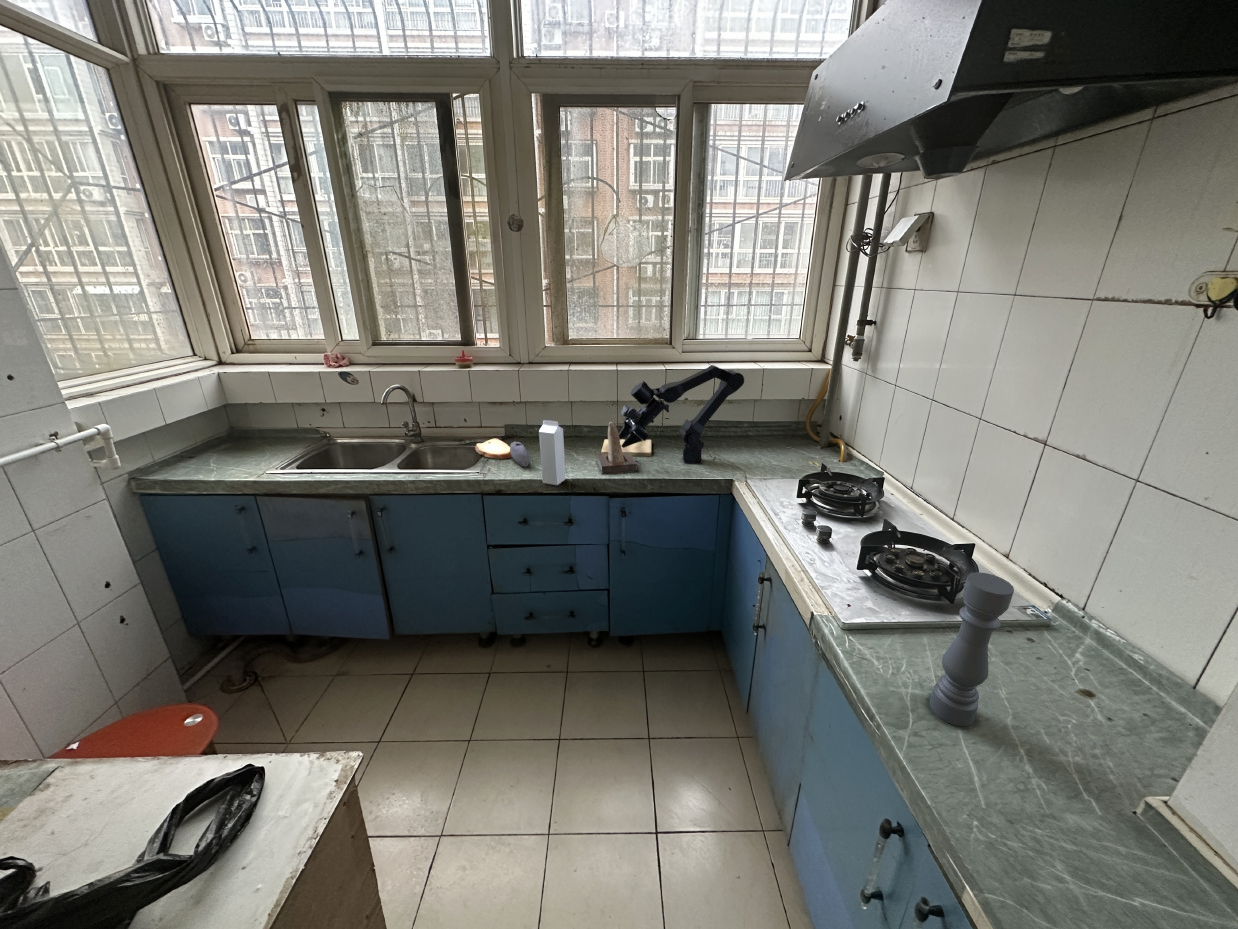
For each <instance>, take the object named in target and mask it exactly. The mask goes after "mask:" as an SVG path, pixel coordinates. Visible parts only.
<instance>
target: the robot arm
mask: <svg viewBox="0 0 1238 929" xmlns="http://www.w3.org/2000/svg"><path fill="white" fill-rule="evenodd" d="M713 379H718V380H719V384H718V388H717V389H716V390H715V392H714V393H713V394H712V396H711V397H710V398H709V399H708V401H707V402H706V403H705V404H704V405H703V407H702V408H701V409H700V410H699V412H698V413H697V415H696V416H695V417H694V418H693V419H691V420H689V419H685V421H684V422H683V424H682V425H680V426H679V428H680V429H679V431H678V435H679V438H680V439H681V440H682V441H683V443H684V447H683V448H682V461H684V462H683V463H684V464H700V465H701V464H703V461H702V451H703V450H702V449H704V446H705V442H703V441H702V440H701V439H700V437H701V436H702V434H703V430H704V428H705V426H706V424H707V423H708V422H709V420H710V419H711V418H712V417H713V416H714V415H715V413H716V412H717V411H718V410H719V408H720V407H721V406H722V405H723V403H724V402H725V401H726V400H727V398H728V397H729V396H731V395H733V394H734V393H736V392H737V391H738V390H739V389H740V388H742V387H743V385H744V384H745V376H744V375H743V374H742V373H741V372H739V371H736V370H734V369H728V370H726V369H723V368H721V367H719V366H716V365H714V364H712V365H709V366H708V367H706V368H704V369H702V370H700V371H698V372H696V373H693V374H692V375H690V376H687V377H685V378H683V379H682V380H678V381H673V382H668V383H665V384H662V385H661V386H660V387H655V388H651V387H650V386H649V384H648V383H647V382H646V381H644V380H642V381H641V382H639V383H637V384H636V385H634V386H633V388H632V389H631V390H630V395H631V396H632V397H633V398H634V399H635V401H637V402H638V403H639V404H640V405H645V406H644V407H643V408H642V407H641V408H640V407H639V408H638V409H636V408H633V407H632V406H628V405H627V404H624V405H623V406H622V409H621V411H620V414H621V415H622V416H623V426H622V428H621V430H620V432H618V433H619V440H623V439H624V438H626V439H624V440H625V441H624V442H623V444H622V445H621V446H622V447H623V448H624V447H627V446H630V445H632V444H635V443H638V442H642V441H643V440H644V441H646V440H649V433H648V432H647V427H648V426H649V425H650V424H653V423H655V419H656V418H657V417H658V416H659V415H660V414H661V413H662V412H663V410H665V412H666V413H670V404H672V403H674V402H676V401H677V400H679V399H680V398H681V397H682V396H683V395H685V393H687V392H688V391H690V390H692V389H694V388H696V387H698V386H701V385H703V384H705V383H707V382H709V381H711V380H713ZM654 396H655V397H654ZM656 398H657V399H656ZM662 400H663V401H662ZM664 402H665V403H664Z"/></svg>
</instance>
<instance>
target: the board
mask: <svg viewBox="0 0 1238 929" xmlns="http://www.w3.org/2000/svg"><path fill="white" fill-rule="evenodd" d="M625 440H626V439H620V445H622V444H623V442H624V441H625ZM642 440H643V439H642ZM602 444H603V445H602V447H601V451H600V454H608V448H609V445H608V438H607V439H604V441H603V443H602ZM621 448H622V452H623V453H626V452H630V453H631V455H632V456H633V457H651V456H652V439H647V440H646V441H644V440H643V441H642V442H638V443H635V444H632V445H630V446H627V447H624V448H623V447H622V446H621Z"/></svg>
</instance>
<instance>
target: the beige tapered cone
mask: <svg viewBox="0 0 1238 929" xmlns="http://www.w3.org/2000/svg"><path fill="white" fill-rule="evenodd" d="M619 433H620V432H619V430H618V427H617V425H616V423H615V422H613V421H609V423H608V428H607V439H608V445H609V448H608V458H609V459H608V463H616V462H625V461H624V457H623V452H622V448H621V445H620V440H621V439H620V440H619Z"/></svg>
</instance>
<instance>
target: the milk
mask: <svg viewBox="0 0 1238 929" xmlns="http://www.w3.org/2000/svg"><path fill="white" fill-rule="evenodd" d="M538 438H539V453H540V464H541V479H542V484H547V485H552V486H559V485H560V484H562V482H564V481H566V463H565V460H566V458H565V441H564V440H565V439H564V428H563V427H561V426H559V422H558V421H556V420H555V421H554V420H546V419H543V420H542V425H541V427H540V428H539V430H538Z"/></svg>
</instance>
